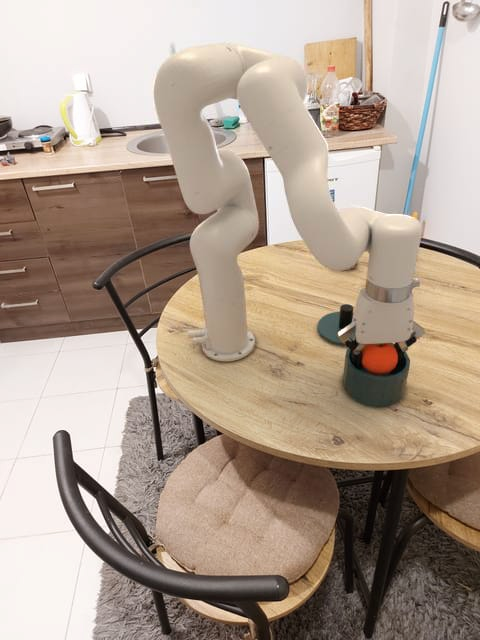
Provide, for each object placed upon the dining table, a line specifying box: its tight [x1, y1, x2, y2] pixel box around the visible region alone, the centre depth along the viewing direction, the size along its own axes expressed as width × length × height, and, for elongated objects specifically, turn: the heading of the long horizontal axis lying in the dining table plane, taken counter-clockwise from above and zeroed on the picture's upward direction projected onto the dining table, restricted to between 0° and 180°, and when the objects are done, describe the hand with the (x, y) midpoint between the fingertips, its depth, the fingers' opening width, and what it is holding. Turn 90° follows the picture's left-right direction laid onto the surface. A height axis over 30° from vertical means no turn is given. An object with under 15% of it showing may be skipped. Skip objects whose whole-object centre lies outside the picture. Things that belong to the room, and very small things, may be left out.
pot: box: [342, 343, 411, 408], centre depth 85 cm, size 12×12×8 cm
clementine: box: [361, 343, 398, 375], centre depth 82 cm, size 8×7×7 cm
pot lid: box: [317, 303, 356, 346], centre depth 101 cm, size 13×13×7 cm
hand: (376, 363), depth 84 cm, fingers closed on clementine, 7 cm apart
